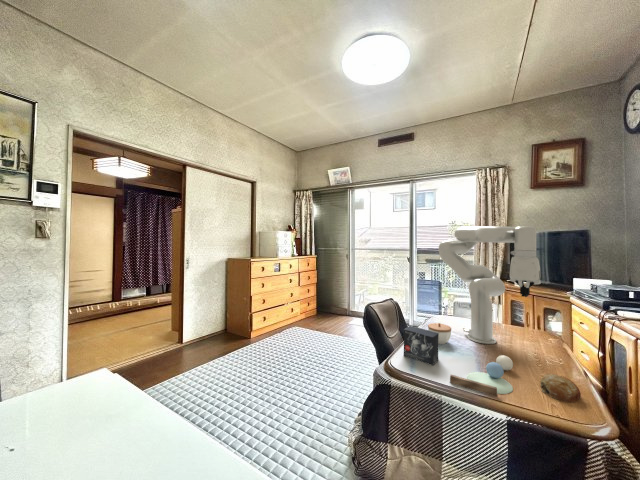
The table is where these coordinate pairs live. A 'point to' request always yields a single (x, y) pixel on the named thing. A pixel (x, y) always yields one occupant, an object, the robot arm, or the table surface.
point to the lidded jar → (441, 332)
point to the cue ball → (504, 362)
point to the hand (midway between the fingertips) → (524, 296)
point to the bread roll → (560, 388)
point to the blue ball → (494, 370)
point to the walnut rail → (473, 385)
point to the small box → (421, 344)
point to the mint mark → (491, 382)
